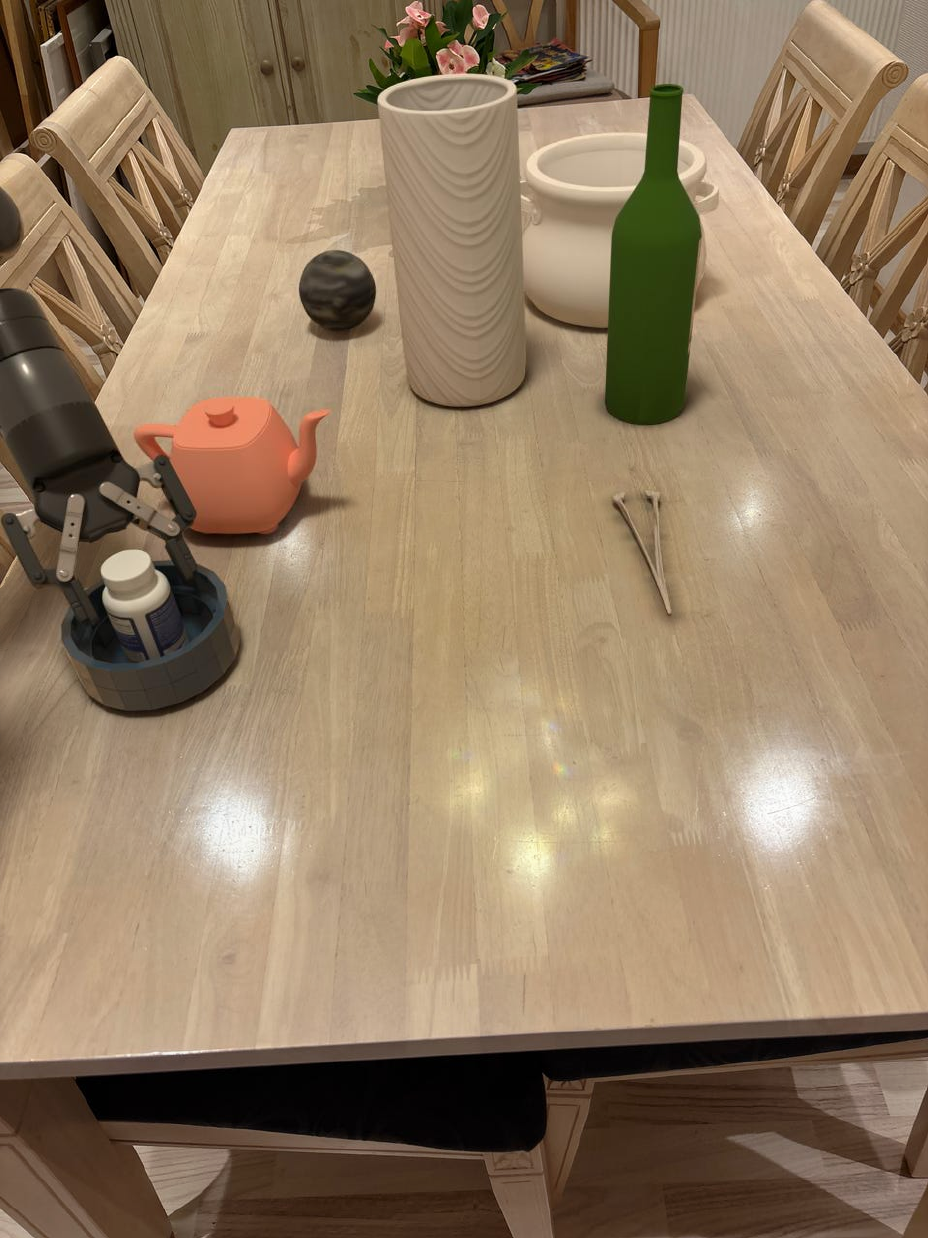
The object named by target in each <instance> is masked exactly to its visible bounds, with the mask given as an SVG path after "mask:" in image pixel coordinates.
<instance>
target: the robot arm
mask: <svg viewBox="0 0 928 1238" xmlns="http://www.w3.org/2000/svg"><path fill="white" fill-rule="evenodd" d="M24 237H25V227H24V221H23V217H22V214H21V211H20V209H19V208H18V206H17V204H16V203H15V201H14V200H13V198H12V197H11V196H10V195H9V194H8V192H6V190H5V189H4V188H2V187H1V186H0V266H2V265H4V264H5V263H7V262H8V261H10V260H11V259H13V257H15V256H16V254H17V253H18V252H19V251H20V249H21V247H22V245H23V242H24ZM0 437H1V438H2V439H3V440H4V442H5V444H6V446H7V448H8V450H9V452H10V454H11V456H12V458H13V460H14V461H15V463H16V465H17V467H18V469H19V472H20V473H21V475H22V477H23V479H24V480H25V483H26V484H27V487H28V488H29V490H30V493H31V494H32V496H33V499H34V505H33V507H32V508H29V509H27V510H24V511H22V512H18V513H16V514H15V513H12V512H6V513H4V514H2V516H1V517H0V523H1V525H2V530H3V531H4V533H5V535H6V538H7V540H8V541H9V543H10V546H11V547H12V550H13V551H14V553H15V555H16V557H17V559H18V562H19V563H20V565H21V567H22V569H23V572H24V573H25V575H26V577H27V579H28V581H29V582H30V585H31V586H32V587H33V588H34V589H36V590H43V589H44V588H45V589H47V588H57V589H59V590H60V591H62V593H63V595H64V597H65V599H66V601H67V603H68V605H69V607H71V609H72V610H73V612H74V614H75V616H76V618H77V619H78V620H79V621H80V622H81V623H84V622H87V621H88V622H89V624H90V625H91V627H94V626H96V625H98V624H100V619H99V617H98V615H97V613H96V611H95V609H94V607H93V605H92V603H91V601H90V599H89V598H88V596H87V594H86V592H85V590H86V589H85V588H84V586H83V584H82V582H81V580H80V578H78V577H77V578H76V577H75V572H76V566H77V561H78V556H79V549H80V543H89V544H93V543H95V542H98V541H100V540H101V539H103V538H104V537H106V535H108V534H109V535H110V534H116V533H117V534H118V533H119V532H122V531H125V530H126V529H127V528H128V526H129V525H130V524H132V525H134V526H135V527H137V528H138V529H140V530H142V531H144V532H148V533H150V534H152V535H154V536H156V537H158V538H159V539H161V540H162V541H164V542H165V545H164V548H165V551H166V552H167V555H168V556H169V559H170V560H172V562H173V564H174V566H175V568H176V570H177V572H178V574H179V576H180V578H181V580H182V582H183V583H184V585H185V586H186V585H189V584H191V583H193V582H194V580H195V577H194V574H196V572H197V564H198V563H197V562H196V560H195V558H194V556H193V554H192V552H191V550H190V548H189V546H188V544H187V542H186V541H185V538H184V532H186V531H187V530H188V529H189V528H190V527H191V526H192V525H193V523H194V520H195V518H196V516H197V512H196V510H195V508H194V506H193V504H192V502H191V500H190V499H189V497H188V495H187V493H186V491H185V489H184V487H183V485H182V483H181V481H180V479H179V478H178V476H177V474H176V472H175V470H174V468H173V466H172V464H171V462H170V460H169V459H168V457H167V456H165V455H158V456H156V457H155V459H154V461H151V462H148V463H145V464H143V465H140V466H138V467H133V466H132V465H131V464H129V463H128V462H127V461H126V460H125V458H124V457H123V454H122V453H121V450H120V449H119V447H118V444H117V443H116V441H115V439H114V437H113V435H112V434H111V431H110V430H109V427H108V426H107V424H106V422H105V420H104V418H103V416H102V414H101V412H100V410H99V408H98V405H96V402H95V400H94V399H93V397H92V395H91V393H90V391H89V389H88V387H87V385H86V383H85V381H84V379H83V378H82V376H81V374H80V372H79V371H78V370H77V368H76V367H75V366H74V364H73V362H71V360H70V358H69V356H68V355H67V354H66V351H65V349H64V347H63V345H62V344H61V342H60V339H59V338H58V335H57V334H56V332H55V330H54V328H53V326H52V325H51V322H50V321H49V318H48V316H47V314H46V313H45V311H44V309H43V307H42V306H41V304H40V303H39V301H38V299H36V297H35V296H34V295H32V294H31V293H30V292H28V291H27V290H24V289H21V288H18V287H2V288H0ZM141 482H146V483H148V484H149V485H150V486H151V488H153V489H156V490H159V489H161V491H162V493H163V495H164V496H165V498H166V500H167V503H168V504H169V506H170V508H171V509H172V513H174V517H173V518H172V519H171V518H168V517H166V516H165V515H163V514H162V513H160V512H159V511H157V509H155V507H153V506H151V505H150V504H148V503H145V502H144V501H143V500H141V499H139V498H138V494H139V489H140V485H141V484H140V483H141ZM38 522H40V523H42V524H43V525H45V526H48V527H49V528H51V529H53V530H55V531H57V532H59V533H61V534H62V535H61V540H60V547H59V555H58V561H57V566H56V567H55V568H44V567H43V565H42V563H41V561H40V559H39V557H38V555H37V554H36V551H35V549H34V546H33V545H32V544H31V542H30V541H32V540H33V539H35V537H36V528H35V526H36V524H37V523H38Z"/></svg>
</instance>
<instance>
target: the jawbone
mask: <svg viewBox="0 0 928 1238" xmlns="http://www.w3.org/2000/svg"><path fill="white" fill-rule="evenodd" d="M643 491H644V494H645V497H646V498H647V499H649V500H651V502H652V513H653V514H652V517H653V527H654V528H653V531H654V532H653V533H654V535H653V536H654V553H655V554H654V555H655V566H654V564H653V562H652V560H651V558H650V556H649V553H648V551H647V549H646V547H645V544H644V542H643V540H642V538H641V536H640V534H639V533H638V530H637V528H636V526H635V524H634V523H633V521H632V518H631V514H630V513H629V511H628V509H627V508H626V505H625V504H624V503H623V499H624V498H625V495H626V493H627V492H626V491H621V492H619V493H616V494H614V495H612V496H611V497H612V500H613V501H614V503H615V504H616V506H618V508H619V510H620V511H621V513H622V515H623V517H624V518H625V521H626V522H627V524H628V525H629V527H630V529H631V530H632V532H633V535H634V537H635V538H636V540H637V542H638V544H639V547H640V549H641V550H642V553H643V554H644V556H645V558H646V561H647V563H648V565H649V567H650V570H651V573H652V576H653V577H654V580H655V582H656V585H657V589H658V590H659V593H660V595H661V598H662V601H663V603H664V606H665V609H666V612H667V615H669V616H670V615H672V609H671V604H670V598H669V594H668V590H667V589H668V588H667V584H666V578H665V572H664V565H663V558H662V557H663V556H662V548H661V535H660V533H661V532H660V531H661V530H660V515H659V514H660V513H659V500H660V498H661V492H660V491H655V490H648V489H645V490H643Z"/></svg>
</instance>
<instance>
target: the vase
mask: <svg viewBox="0 0 928 1238" xmlns="http://www.w3.org/2000/svg"><path fill="white" fill-rule="evenodd" d="M376 101H377V111H378V120H379V121H378V122H379V130H380V131H379V132H380V139H381V149H382V150H381V151H382V159H383V160H382V161H383V170H384V179H385V190H386V200H387V209H388V217H389V227H390V228H389V229H390V236H391V237H390V238H391V247H392V256H393V265H394V274H395V275H394V276H395V285H396V294H397V303H398V313H399V314H398V315H399V322H400V332H401V340H402V341H401V342H402V349H403V356H404V357H403V358H404V364H405V369H406V376H407V379H408V380H407V381H408V383H409V386H410V388H411V390H412V392H414V393H415V394H416V395H417V396H418V397H420V398H421V399H423V400H426V401H427V402H430V403H433V404H436V405H440V406H444V407H453V408H468V407H469V408H470V407H477V406H483V405H487V404H491V403H494V402H497V401H499V400H501V399H504V398H505V397H507V396H509V395H510V394H512V393H513V392H515V391H516V390H517V389H518V388H519V387H520V386H521V385H522V383H523V381H524V379H525V374H526V357H527V356H526V355H527V353H526V352H527V351H526V350H527V349H526V346H527V345H526V343H527V341H526V340H527V339H526V337H527V336H526V309H525V308H526V307H525V306H526V305H525V289H524V275H523V245H522V234H523V221H522V220H523V219H522V211H521V187H520V181H521V166H520V165H521V164H520V163H521V162H520V140H519V139H520V137H519V114H518V113H519V111H518V91H517V86H516V84H515V83H514V82H513V81H511V80H509V79H507V78H504V77H501V76H497V75H491V74H482V73H448V74H438V75H430V76H423V77H419V78H413V79H410V80H409V79H408V80H405V81H402V82H399V83H396V84H393V85H391V86H389V87H387V88H386V89H384V90H383V91H381V92H380V93H379V95H378V96H377V100H376Z"/></svg>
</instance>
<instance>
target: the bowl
mask: <svg viewBox="0 0 928 1238" xmlns="http://www.w3.org/2000/svg"><path fill="white" fill-rule="evenodd" d="M152 563H153V565H154V567H155V570H157V571H159V572H161V573H162V574H163V575H164V576H165V577H166V578H167V580H168V582H169V584H170V587H171V590H172V593H173V596H174V599H175V602H176V604H177V607H178V610H179V613H180V615H181V618H182V621H183V624H184V627H185V629H186V632H187V635H188V638H189V643H188V644H186V645H185V646H184V647H182V648H180V649H177V650H175V651H173V652H171V653H169V654H167V655H165V656H163V657H159V658H155V659H151V660H147V661H143V662H139V663H129V661H128V659H127V657H126V655H125V653H124V651H123V648H122V646H121V644H120V641H119V639H118V637H117V634H116V632H115V630H114V627H113V625H112V623H111V621H110V618H109V616H108V613H107V611H106V609H105V606H104V603H103V598H102V597H103V591H104V589H105V587H106V586H105V584H104V581H103V578H101V579H99V580H97V581H96V582H94V583H93V584H91V585H90V586H89V587H87V588H85V589H84V590H85V592H86V594H87V596H88V598H89V599H90V601H91V603H92V605H93V607H94V609H95V611H96V613H97V615H98V617H99V619H100V624H98V625H96V626H94V627H91V625H90V624H89V622H88V621H87V622H84V623H81V622H80V621H79V620H78V619H77V618H76V616H75V614H74V612H73V610H72V609H71V607H70V606H69V607H68V609H67V611H66V614H65V615H64V617H63V619H62V621H61V624H60V641H61V643H62V646H63V648H64V650H65V652H66V655H67V656H68V658H69V661H70V662H71V665H72V666H73V669H74V671H75V673H76V675H77V677H78V679H79V681H80V683H81V685H82V686H83V689H84V690H85V691H86V694H87V695H88V696H90V697H91V698H93V699H95V700H96V701H97V702H99V703H101V704H102V705H103V706H105V707H109V708H113V709H117V710H122V711H128V712H130V711H133V712H134V711H154V710H158V709H162V708H166V707H169V706H173V705H178V704H181V703H183V702H185V701H187V700H188V699H191V698H193V697H195V696H197V695H200V694H201V693H203V692H204V691H206V690H207V689H209V688H210V686H212V685H213V684H214V683H216V682H217V681H218V680H219V679H220V678H222V677H223V676H224V674H225V673H226V672H227V670H228V669H229V668H230V667H231V665H232V663H233V662H234V661H235V660H236V657H237V654H238V650H239V646H240V642H241V636H240V632H239V627H238V623H237V619H236V616H235V612H234V610H233V607H232V603H231V600H230V596H229V593H228V589H227V587H226V584H225V583H224V582H223V580H222V579H221V578H220V577H219V575H217V573H216V572H215V571H213V570H211V569H209V568H208V567H205V566H203V565H201V564H200V563H197V572H196V574H194V577H195V580H194V582H193V583H191V584H189V585H186V586H185V585H184V583H183V582H182V580H181V578H180V576H179V574H178V572H177V570H176V568H175V566H174V564H173V562H172V560H171V559H166V560H165V559H164V560H163V559H161V560H152Z"/></svg>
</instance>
